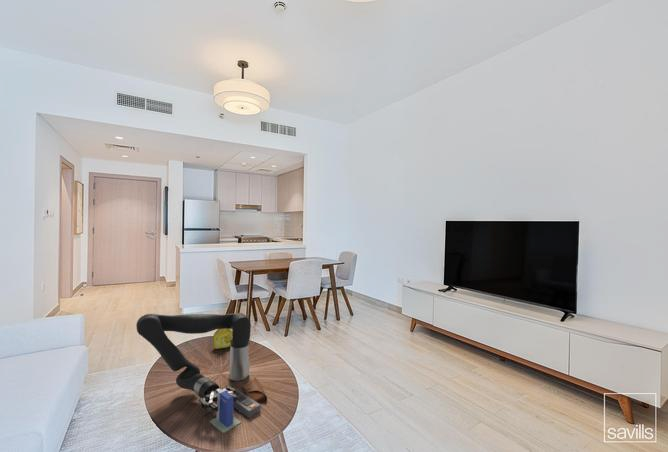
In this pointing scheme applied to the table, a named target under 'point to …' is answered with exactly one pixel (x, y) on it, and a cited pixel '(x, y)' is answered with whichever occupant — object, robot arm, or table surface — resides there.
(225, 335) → the bottle
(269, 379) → the table surface
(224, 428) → the mat
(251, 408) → the power strip
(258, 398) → the sunglasses case
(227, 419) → the walkman
